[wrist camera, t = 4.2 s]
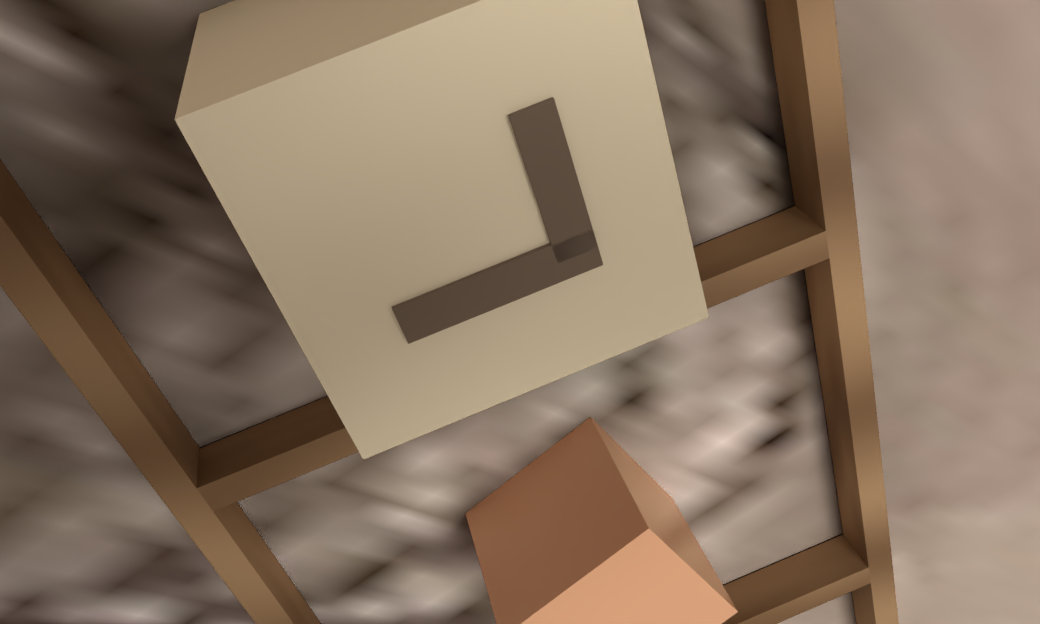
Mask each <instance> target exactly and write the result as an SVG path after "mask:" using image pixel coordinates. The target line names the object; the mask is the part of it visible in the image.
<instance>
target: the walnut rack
mask: <svg viewBox="0 0 1040 624" xmlns="http://www.w3.org/2000/svg"><path fill="white" fill-rule="evenodd" d="M765 6H766V13H767V20H768V27H769V33H770V40H771V47H772V54H773V61H774V67H775V74H776V81H777V88H778V95H779V101H780V108H781V115H782V122H783V129H784V135H785V142H786V149H787V156H788V163H789V169H790V176H791V183H792V190H793V197H794V203H795V206H794V207H791V208H789V209H787V210H784V211H782V212H779V213H777V214H774V215H772V216H769V217H767V218H764V219H762V220H760V221H757V222H755V223H752V224H750V225H747V226H745V227H742V228H740V229H737V230H735V231H732V232H730V233H728V234H725V235H723V236H720V237H718V238H715V239H713V240H710V241H708V242H705V243H703V244H701V245H698V246H696V247H693V249H694V253H695V258H696V262H697V266H698V271H699V275H700V280H701V284H702V288H703V293H704V297H705V302H706V306H707V308H709V307H712V306H714V305H717V304H719V303H722V302H724V301H726V300H729V299H731V298H734V297H736V296H739V295H741V294H744V293H746V292H748V291H751V290H753V289H756V288H758V287H761V286H763V285H765V284H768V283H770V282H773V281H775V280H778V279H780V278H782V277H785V276H787V275H790V274H792V273H795V272H797V271H800V270H802V269H804V271H805V278H806V285H807V292H808V299H809V305H810V312H811V319H812V326H813V333H814V339H815V346H816V353H817V360H818V367H819V373H820V380H821V387H822V394H823V401H824V407H825V414H826V421H827V428H828V435H829V441H830V448H831V455H832V462H833V469H834V475H835V482H836V489H837V496H838V503H839V509H840V516H841V523H842V530H843V535H841V536H838V537H836V538H833V539H831V540H829V541H826V542H824V543H822V544H819V545H817V546H815V547H812V548H810V549H808V550H805V551H803V552H801V553H798V554H796V555H794V556H791V557H789V558H787V559H784V560H782V561H780V562H777V563H775V564H773V565H770V566H768V567H766V568H763V569H761V570H759V571H756V572H754V573H752V574H749V575H747V576H745V577H742V578H740V579H737V580H735V581H733V582H730V583H728V584H726V585H723V587H724V588H725V590H726V592H727V594H728V595H729V597H730V599H731V600H732V602H733V604H734V606H735V607H736V609H737V611H738V612H737V613H736V614H734V615H733V616H732V617H730V618H729V619H727V620H726V621H725V622H723V623H722V624H777V623H779V622H782V621H784V620H786V619H788V618H791V617H793V616H795V615H798V614H800V613H802V612H805V611H807V610H809V609H812V608H814V607H816V606H819V605H821V604H823V603H826V602H828V601H830V600H833V599H835V598H837V597H840V596H842V595H844V594H847V593H849V592H851V591H852V598H853V605H854V611H855V618H856V624H899V623H898V614H897V604H896V595H895V585H894V575H893V566H892V556H891V547H890V537H889V527H888V518H887V508H886V499H885V489H884V479H883V470H882V460H881V451H880V441H879V431H878V422H877V412H876V403H875V393H874V383H873V374H872V364H871V355H870V345H869V335H868V326H867V316H866V307H865V297H864V287H863V278H862V268H861V259H860V249H859V239H858V230H857V220H856V211H855V201H854V191H853V182H852V172H851V163H850V153H849V143H848V134H847V124H846V115H845V105H844V95H843V86H842V76H841V67H840V57H839V47H838V38H837V28H836V19H835V9H834V0H765ZM0 286H1V287H2V289H3V290H4V291H5V293H6V294H7V295H8V297H9V298H10V299H11V301H12V302H13V303H14V305H15V306H16V307H17V309H18V310H19V311H20V312H21V314H22V315H23V316H24V318H25V319H26V320H27V322H28V323H29V324H30V326H31V327H32V328H33V330H34V331H35V332H36V334H37V335H38V336H39V338H40V339H41V340H42V342H43V343H44V344H45V346H46V347H47V348H48V349H49V351H50V352H51V353H52V355H53V356H54V357H55V359H56V360H57V361H58V363H59V364H60V365H61V367H62V368H63V369H64V371H65V372H66V373H67V375H68V376H69V377H70V379H71V380H72V381H73V383H74V384H75V385H76V386H77V388H78V389H79V390H80V392H81V393H82V394H83V396H84V397H85V398H86V400H87V401H88V402H89V404H90V405H91V406H92V408H93V409H94V410H95V412H96V413H97V414H98V416H99V417H100V418H101V420H102V421H103V422H104V423H105V425H106V426H107V427H108V429H109V430H110V431H111V433H112V434H113V435H114V437H115V438H116V439H117V441H118V442H119V443H120V445H121V446H122V447H123V449H124V450H125V451H126V453H127V454H128V455H129V457H130V458H131V459H132V460H133V462H134V463H135V464H136V466H137V467H138V468H139V470H140V471H141V472H142V474H143V475H144V476H145V478H146V479H147V480H148V482H149V483H150V484H151V486H152V487H153V488H154V490H155V491H156V492H157V494H158V495H159V496H160V497H161V499H162V500H163V501H164V503H165V504H166V505H167V507H168V508H169V509H170V511H171V512H172V513H173V515H174V516H175V517H176V519H177V520H178V521H179V523H180V524H181V525H182V527H183V528H184V529H185V531H186V532H187V533H188V535H189V536H190V537H191V538H192V540H193V541H194V542H195V544H196V545H197V546H198V548H199V549H200V550H201V552H202V553H203V554H204V556H205V557H206V558H207V560H208V561H209V562H210V564H211V565H212V566H213V568H214V569H215V570H216V572H217V573H218V574H219V575H220V577H221V578H222V579H223V581H224V582H225V583H226V585H227V586H228V587H229V589H230V590H231V591H232V593H233V594H234V595H235V597H236V598H237V599H238V601H239V602H240V603H241V605H242V606H243V607H244V609H245V610H246V611H247V612H248V614H249V615H250V616H251V618H252V619H253V620H254V622H255V623H256V624H321V623H320V622H319V620H318V619H317V617H316V616H315V614H314V613H313V611H312V610H311V609H310V607H309V606H308V604H307V603H306V601H305V600H304V598H303V597H302V596H301V594H300V593H299V591H298V590H297V588H296V587H295V585H294V584H293V583H292V581H291V580H290V578H289V577H288V575H287V574H286V572H285V571H284V569H283V568H282V567H281V565H280V564H279V562H278V561H277V559H276V558H275V556H274V555H273V554H272V552H271V551H270V549H269V548H268V546H267V545H266V543H265V542H264V541H263V539H262V538H261V536H260V535H259V533H258V532H257V530H256V529H255V527H254V526H253V525H252V523H251V522H250V520H249V519H248V517H247V516H246V514H245V513H244V512H243V510H242V509H241V507H240V506H239V504H238V503H237V501H240V500H242V499H245V498H247V497H250V496H252V495H254V494H257V493H259V492H262V491H264V490H267V489H269V488H271V487H274V486H276V485H279V484H281V483H284V482H286V481H288V480H291V479H293V478H296V477H298V476H301V475H303V474H305V473H308V472H310V471H313V470H315V469H318V468H320V467H323V466H325V465H327V464H330V463H332V462H335V461H337V460H340V459H342V458H344V457H347V456H349V455H352V454H354V453H357V452H359V451H358V449H357V447H356V446H355V444H354V442H353V440H352V438H351V437H350V435H349V433H348V431H347V429H346V427H345V426H344V424H343V422H342V420H341V418H340V417H339V415H338V413H337V411H336V409H335V408H334V406H333V404H332V402H331V400H330V399H329V397H328V396H327V397H325V398H322V399H320V400H317V401H315V402H312V403H310V404H308V405H305V406H303V407H300V408H298V409H295V410H293V411H290V412H288V413H285V414H283V415H281V416H278V417H276V418H273V419H271V420H268V421H266V422H263V423H261V424H258V425H256V426H254V427H251V428H249V429H246V430H244V431H241V432H239V433H236V434H234V435H231V436H229V437H227V438H224V439H222V440H219V441H217V442H214V443H212V444H209V445H207V446H204V447H202V448H199V446H198V445H197V444H196V442H195V441H194V439H193V438H192V436H191V435H190V433H189V432H188V430H187V429H186V428H185V426H184V425H183V423H182V422H181V420H180V419H179V417H178V416H177V415H176V413H175V412H174V410H173V409H172V407H171V406H170V404H169V403H168V402H167V400H166V399H165V397H164V396H163V394H162V393H161V391H160V390H159V389H158V387H157V386H156V384H155V383H154V381H153V380H152V378H151V377H150V375H149V374H148V373H147V371H146V370H145V368H144V367H143V365H142V364H141V362H140V361H139V360H138V358H137V357H136V355H135V354H134V352H133V351H132V349H131V348H130V347H129V345H128V344H127V342H126V341H125V339H124V338H123V336H122V335H121V333H120V332H119V331H118V329H117V328H116V326H115V325H114V323H113V322H112V320H111V319H110V318H109V316H108V315H107V313H106V312H105V310H104V309H103V307H102V306H101V305H100V303H99V302H98V300H97V299H96V297H95V296H94V294H93V293H92V291H91V290H90V289H89V287H88V286H87V284H86V283H85V281H84V280H83V278H82V277H81V276H80V274H79V273H78V271H77V270H76V268H75V267H74V265H73V264H72V263H71V261H70V260H69V258H68V257H67V255H66V254H65V252H64V251H63V250H62V248H61V247H60V245H59V244H58V242H57V241H56V239H55V238H54V236H53V235H52V234H51V232H50V231H49V229H48V228H47V226H46V225H45V223H44V222H43V221H42V219H41V218H40V216H39V215H38V213H37V212H36V210H35V209H34V208H33V206H32V205H31V203H30V202H29V200H28V199H27V197H26V196H25V194H24V193H23V192H22V190H21V189H20V187H19V186H18V184H17V183H16V181H15V180H14V179H13V177H12V176H11V174H10V173H9V171H8V170H7V168H6V167H5V166H4V164H3V163H2V161H1V160H0Z"/></svg>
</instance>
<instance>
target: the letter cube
mask: <svg viewBox="0 0 1040 624" xmlns="http://www.w3.org/2000/svg"><path fill="white" fill-rule="evenodd" d="M175 121H176V123H177V125H178V127H179V128H180V130H181V132H182V134H183V136H184V137H185V139H186V141H187V143H188V145H189V146H190V148H191V150H192V152H193V154H194V155H195V157H196V159H197V161H198V163H199V164H200V166H201V168H202V170H203V172H204V174H205V175H206V177H207V179H208V181H209V183H210V184H211V186H212V188H213V190H214V192H215V193H216V195H217V197H218V199H219V201H220V202H221V204H222V206H223V208H224V210H225V211H226V213H227V215H228V217H229V219H230V220H231V222H232V224H233V226H234V228H235V229H236V231H237V233H238V235H239V237H240V238H241V240H242V242H243V244H244V246H245V247H246V249H247V251H248V253H249V255H250V256H251V258H252V260H253V262H254V264H255V265H256V267H257V269H258V271H259V273H260V274H261V276H262V278H263V280H264V282H265V283H266V285H267V287H268V289H269V291H270V292H271V294H272V296H273V298H274V300H275V301H276V303H277V305H278V307H279V309H280V310H281V312H282V314H283V316H284V318H285V319H286V321H287V323H288V325H289V327H290V328H291V330H292V332H293V334H294V336H295V337H296V339H297V341H298V343H299V345H300V346H301V348H302V350H303V352H304V354H305V355H306V357H307V359H308V361H309V363H310V364H311V366H312V368H313V370H314V372H315V373H316V375H317V377H318V379H319V381H320V382H321V384H322V386H323V388H324V390H325V391H326V393H327V395H328V397H329V399H330V400H331V402H332V404H333V406H334V408H335V409H336V411H337V413H338V415H339V417H340V418H341V420H342V422H343V424H344V426H345V427H346V429H347V431H348V433H349V435H350V437H351V438H352V440H353V442H354V444H355V446H356V447H357V449H358V451H359V453H360V455H361V456H362V458H363V459H366V458H368V457H371V456H373V455H376V454H378V453H380V452H383V451H385V450H388V449H390V448H393V447H395V446H397V445H400V444H402V443H405V442H407V441H410V440H412V439H414V438H417V437H419V436H422V435H424V434H427V433H429V432H431V431H434V430H436V429H439V428H441V427H444V426H446V425H448V424H451V423H453V422H456V421H458V420H461V419H463V418H465V417H468V416H470V415H473V414H475V413H478V412H480V411H482V410H485V409H487V408H490V407H492V406H495V405H497V404H499V403H502V402H504V401H507V400H509V399H512V398H514V397H516V396H519V395H521V394H524V393H526V392H529V391H531V390H533V389H536V388H538V387H541V386H543V385H546V384H548V383H550V382H553V381H555V380H558V379H560V378H563V377H565V376H568V375H570V374H572V373H575V372H577V371H580V370H582V369H585V368H587V367H589V366H592V365H594V364H597V363H599V362H602V361H604V360H606V359H609V358H611V357H614V356H616V355H619V354H621V353H623V352H626V351H628V350H631V349H633V348H636V347H638V346H640V345H643V344H645V343H648V342H650V341H653V340H655V339H657V338H660V337H662V336H665V335H667V334H670V333H672V332H674V331H677V330H679V329H682V328H684V327H687V326H689V325H691V324H694V323H696V322H699V321H701V320H704V319H706V318H708V317H709V315H708V311H707V306H706V302H705V297H704V293H703V288H702V284H701V280H700V275H699V271H698V266H697V262H696V258H695V253H694V249H693V244H692V240H691V236H690V231H689V227H688V222H687V218H686V213H685V209H684V205H683V200H682V196H681V191H680V187H679V183H678V178H677V174H676V169H675V165H674V160H673V156H672V152H671V147H670V143H669V138H668V134H667V130H666V125H665V121H664V116H663V112H662V108H661V103H660V99H659V94H658V90H657V85H656V81H655V77H654V72H653V68H652V63H651V59H650V55H649V50H648V46H647V41H646V37H645V32H644V28H643V24H642V19H641V15H640V10H639V6H638V2H637V0H234V1H232V2H229V3H226V4H224V5H221V6H219V7H216V8H213V9H211V10H208V11H206V12H203V13H200V14H199V18H198V22H197V27H196V31H195V35H194V39H193V43H192V48H191V52H190V56H189V60H188V65H187V69H186V73H185V77H184V81H183V86H182V90H181V94H180V98H179V102H178V107H177V111H176V115H175Z"/></svg>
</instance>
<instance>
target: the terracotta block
mask: <svg viewBox="0 0 1040 624" xmlns="http://www.w3.org/2000/svg"><path fill="white" fill-rule="evenodd" d="M466 517H467V521H468V524H469V528H470V531H471V535H472V538H473V542H474V545H475V549H476V552H477V556H478V559H479V563H480V566H481V570H482V573H483V577H484V580H485V584H486V587H487V591H488V594H489V598H490V601H491V605H492V609H493V612H494V616H495V619H496V623H497V624H722V623H723V622H725V621H726V620H727V619H729V618H730V617H732V616H733V615H734V614H736V613H737V612H738V611H737V609H736V607H735V606H734V604H733V602H732V600H731V599H730V597H729V595H728V594H727V592H726V590H725V588H724V587H723V585H722V583H721V581H720V580H719V578H718V576H717V574H716V573H715V571H714V569H713V568H712V566H711V564H710V562H709V561H708V559H707V557H706V555H705V554H704V552H703V550H702V549H701V547H700V545H699V543H698V542H697V540H696V538H695V536H694V535H693V533H692V531H691V529H690V528H689V526H688V524H687V523H686V521H685V519H684V517H683V516H682V514H681V512H680V510H679V509H678V507H677V505H676V504H675V502H674V500H673V498H672V497H671V496H670V495H669V494H668V493H667V492H666V491H665V490H664V489H663V488H662V487H661V486H660V485H659V484H658V483H657V482H656V481H655V480H653V479H652V478H651V477H650V476H649V475H648V474H647V473H646V472H645V471H644V470H643V469H642V468H641V467H640V466H639V465H638V464H637V463H636V462H635V461H634V460H633V459H632V458H631V457H630V456H629V455H628V454H627V453H626V452H625V451H624V450H623V449H622V448H621V447H620V446H619V445H618V444H617V443H616V442H615V441H614V440H613V439H612V438H611V437H610V436H609V435H608V434H607V433H606V432H605V431H604V430H603V429H602V428H601V427H600V426H599V425H598V424H597V423H596V422H595V421H594V420H593V419H592V418H591V417H590V418H588V419H587V420H586V421H584V422H583V423H582V424H581V425H579V426H578V427H577V428H575V429H574V430H573V431H571V432H570V433H569V434H568V435H566V436H565V437H564V438H562V439H561V440H560V441H559V442H557V443H556V444H555V445H553V446H552V447H551V448H550V449H548V450H547V451H546V452H544V453H543V454H542V455H540V456H539V457H538V458H537V459H535V460H534V461H533V462H531V463H530V464H529V465H528V466H526V467H525V468H524V469H522V470H521V471H520V472H518V473H517V474H516V475H515V476H513V477H512V478H511V479H509V480H508V481H507V482H506V483H504V484H503V485H502V486H500V487H499V488H498V489H497V490H495V491H494V492H493V493H491V494H490V495H489V496H487V497H486V498H485V499H484V500H482V501H481V502H480V503H478V504H477V505H476V506H475V507H473V508H472V509H471V510H469V511H468V512H467V513H466Z"/></svg>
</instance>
